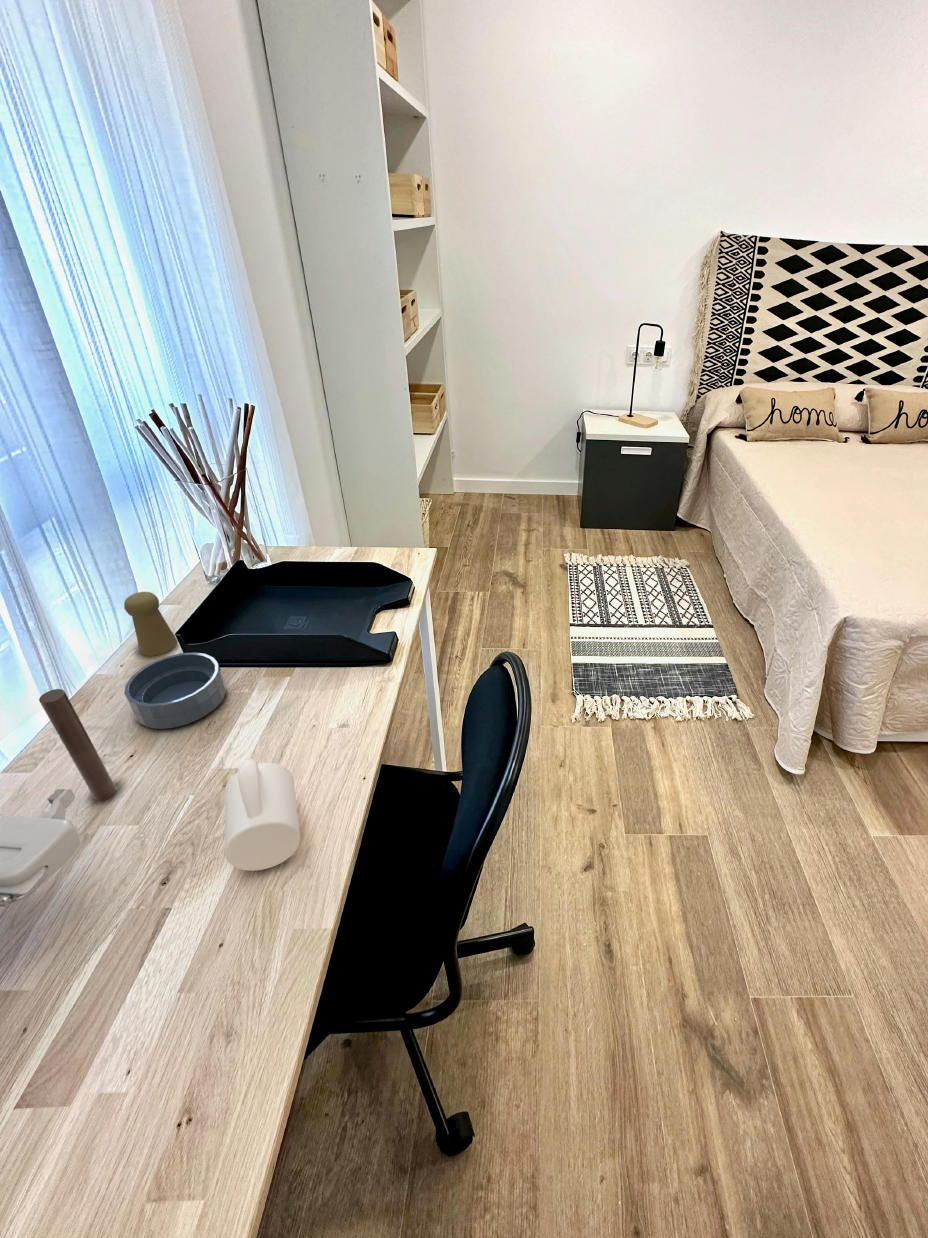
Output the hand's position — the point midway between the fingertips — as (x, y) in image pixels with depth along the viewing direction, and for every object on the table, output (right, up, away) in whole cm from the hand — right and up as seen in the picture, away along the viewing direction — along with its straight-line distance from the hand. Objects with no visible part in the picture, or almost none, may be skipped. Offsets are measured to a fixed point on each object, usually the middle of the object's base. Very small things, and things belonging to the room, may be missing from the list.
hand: (29, 789), depth 73 cm
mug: (+26, -8, +7) cm, 28 cm away
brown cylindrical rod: (0, -4, +12) cm, 13 cm away
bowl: (+2, +5, +27) cm, 28 cm away
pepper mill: (-11, +14, +40) cm, 44 cm away
